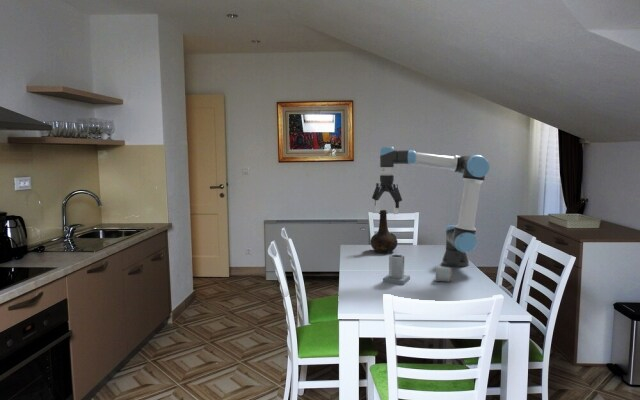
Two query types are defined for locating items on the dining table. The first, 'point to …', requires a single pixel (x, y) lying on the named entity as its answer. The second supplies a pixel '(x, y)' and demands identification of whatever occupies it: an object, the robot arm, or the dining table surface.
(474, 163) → the robot arm
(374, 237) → the dark brown rounded piece
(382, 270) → the dining table surface
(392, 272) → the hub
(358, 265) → the dining table surface
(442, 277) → the ceramic mug
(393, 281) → the peg block
